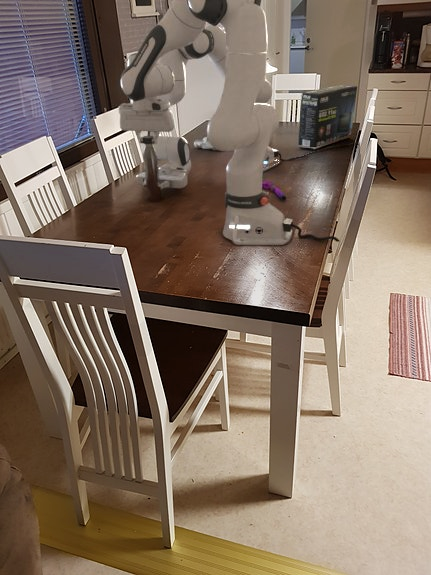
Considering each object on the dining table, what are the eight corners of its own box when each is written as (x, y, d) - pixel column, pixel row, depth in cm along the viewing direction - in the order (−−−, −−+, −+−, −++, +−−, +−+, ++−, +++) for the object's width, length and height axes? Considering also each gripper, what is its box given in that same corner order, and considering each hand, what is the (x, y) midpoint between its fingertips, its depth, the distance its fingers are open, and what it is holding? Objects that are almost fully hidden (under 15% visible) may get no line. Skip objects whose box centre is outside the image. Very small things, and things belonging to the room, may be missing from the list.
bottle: (155, 202, 177) (149, 141, 165) (145, 200, 180) (137, 139, 168) (164, 198, 181) (158, 138, 169) (153, 195, 183) (147, 136, 171)
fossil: (217, 145, 233) (197, 126, 236) (207, 162, 240) (188, 144, 243) (235, 143, 247) (216, 125, 250) (225, 159, 253) (207, 142, 257)
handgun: (253, 185, 189) (253, 181, 188) (271, 183, 190) (271, 179, 189) (267, 202, 172) (267, 197, 171) (287, 200, 173) (287, 195, 172)
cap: (149, 144, 167) (149, 138, 166) (140, 143, 168) (140, 137, 167) (156, 142, 170) (155, 136, 168) (147, 141, 171) (146, 135, 170)
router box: (314, 151, 231) (318, 94, 217) (296, 148, 237) (299, 92, 224) (352, 138, 251) (358, 85, 238) (335, 135, 258) (340, 83, 245)
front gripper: (113, 104, 162) (119, 144, 169) (167, 105, 157) (170, 146, 164) (121, 101, 167) (127, 140, 174) (174, 102, 162) (177, 142, 169)
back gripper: (144, 166, 189) (127, 176, 178) (190, 169, 183) (175, 180, 172) (146, 180, 193) (129, 191, 182) (191, 185, 186) (176, 196, 175)
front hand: (148, 143), depth 169 cm, fingers closed on cap, 4 cm apart
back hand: (152, 186), depth 177 cm, fingers closed on bottle, 5 cm apart
